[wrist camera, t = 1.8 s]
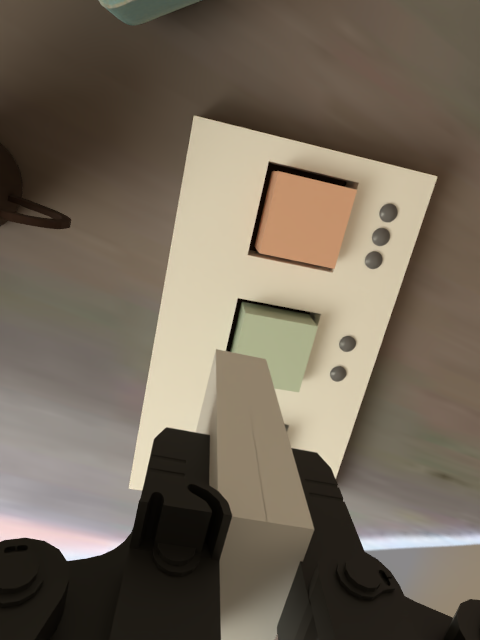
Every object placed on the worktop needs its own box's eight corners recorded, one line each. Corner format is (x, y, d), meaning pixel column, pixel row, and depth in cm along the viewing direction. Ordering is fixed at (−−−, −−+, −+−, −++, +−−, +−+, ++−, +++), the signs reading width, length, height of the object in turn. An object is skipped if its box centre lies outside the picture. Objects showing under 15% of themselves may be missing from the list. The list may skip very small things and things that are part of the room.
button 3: (254, 246, 31) (259, 253, 28) (271, 170, 29) (278, 171, 27) (323, 260, 31) (334, 268, 29) (343, 188, 30) (357, 189, 27)
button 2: (227, 364, 33) (229, 381, 31) (241, 301, 32) (245, 312, 29) (291, 375, 34) (298, 392, 31) (308, 314, 33) (318, 326, 30)
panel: (133, 468, 37) (128, 489, 34) (194, 119, 29) (193, 115, 26) (316, 491, 39) (324, 513, 37) (419, 175, 31) (438, 176, 29)
